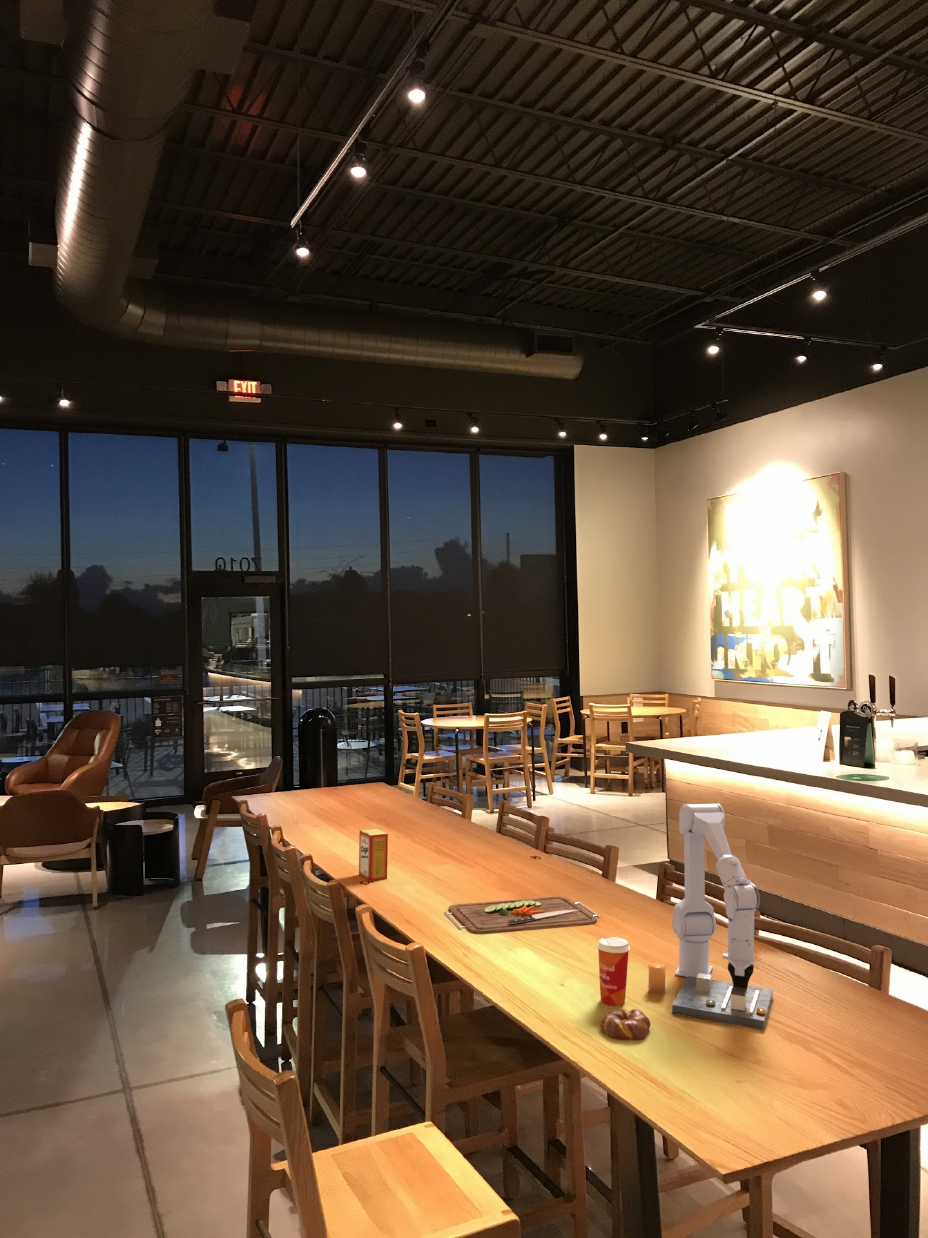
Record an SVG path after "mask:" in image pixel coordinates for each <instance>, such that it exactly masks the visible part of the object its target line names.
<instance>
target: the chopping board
mask: <svg viewBox="0 0 928 1238" xmlns="http://www.w3.org/2000/svg"><path fill="white" fill-rule="evenodd" d="M448 911H449V912H446V911H444V912H443V914H444V915H445V916H446V917H447V918H448V919H449V920H450V921H451V922H452V923H453V924H454V925H455V926H456V928H457V929H459V931H460V930H461V931H462V930H463V929H466V930H467V931H468V932H470V933H472V934H478V935H481V934H482V935H483V934H484V935H485V934H495V933H496V934H497V933H508V932H522V931H529V930H541V929H552V928H565V927H576V926H588V925H595V924H597V923H598V918H599V919H600V918H601V917H602V916H601V915H600V914H598V913H597V912H595V911H594V910H593V909H591V908H589V907H588V906H586V905H585V904H583V903H582V902H580V901H579V900H577V901H576V902H575V901H573V900H571V899H570V898H568V897H564V896H546V897H536V898H535V897H533V898H522V899H520V898H519V899H508V900H496V901H495V900H494V901H482V902H469V903H457V904H456V903H455V904H451V905H450V906H449V907H448ZM451 915H453V916H454V917H455V918H456V919H457V921H459V923H460V924H461V925H462V926H461V925H460V924H458V923H457V921H455V919H454V918H453V917H452V916H451Z"/></svg>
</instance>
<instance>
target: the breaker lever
mask: <svg viewBox="0 0 928 1238" xmlns="http://www.w3.org/2000/svg"><path fill="white" fill-rule="evenodd" d="M745 1008H746V988H741V987H735V986H733V987H732V990H731V1009H737V1010H742V1011H745Z"/></svg>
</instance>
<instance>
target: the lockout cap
mask: <svg viewBox="0 0 928 1238" xmlns="http://www.w3.org/2000/svg"><path fill="white" fill-rule="evenodd" d="M647 985H648V987H647V988H648V989H647V990H648V992H649V993H651V994H654V995H664V994H665V993H666V965H665V964H662V963H659V962H658V963H657V962H656V963H655V962H654V963H653V962H652V963H650V964H648V984H647Z"/></svg>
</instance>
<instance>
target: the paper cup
mask: <svg viewBox="0 0 928 1238" xmlns="http://www.w3.org/2000/svg"><path fill="white" fill-rule="evenodd" d="M596 948H597V949H598V970H599V972H598V973H599V991H600V992H599V993H600V1001H601V1004H604V1005H605V1006H609V1007H610V1006H611V1007H619V1006H624V1004H625V1001H626V992H627V981H628V967H629V966H628V963H629V952H630V949H631V947H630V944H629V942H628V941H627V940H626V939H625V938H621V937H616V936H615V937H614V936H611V937H604V938H603V937H601V938H600V939H599V940H598V943H597V945H596Z"/></svg>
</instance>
